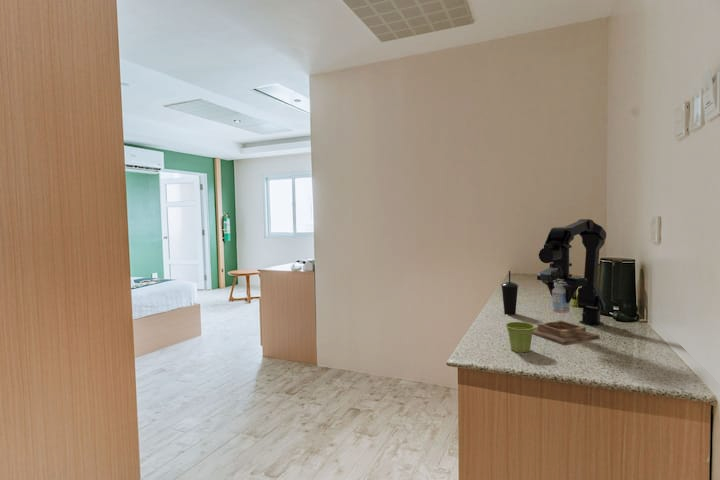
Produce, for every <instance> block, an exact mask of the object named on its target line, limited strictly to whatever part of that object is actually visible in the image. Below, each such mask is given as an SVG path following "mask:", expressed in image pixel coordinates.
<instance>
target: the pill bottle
mask: <svg viewBox="0 0 720 480" xmlns="http://www.w3.org/2000/svg"><path fill="white" fill-rule="evenodd" d="M564 285H567V282H562V281H559V282H554V287H555V288H553V290H552V296H551V306H552V307H551V308H552V312H554V313H556V314H568V313H570V310H571V303H570V302H571V301H570V302H569V303H566V289H565V288H564V287H563V286H564Z"/></svg>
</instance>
